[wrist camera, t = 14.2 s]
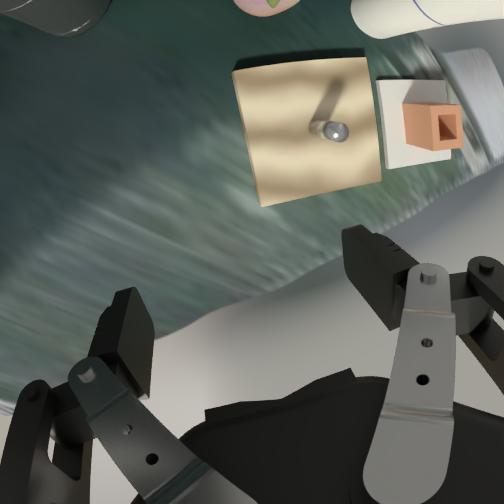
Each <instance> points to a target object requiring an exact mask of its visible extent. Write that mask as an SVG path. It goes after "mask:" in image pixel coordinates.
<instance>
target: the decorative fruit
mask: <svg viewBox="0 0 504 504" xmlns="http://www.w3.org/2000/svg"><path fill="white" fill-rule="evenodd" d="M233 1H234V2H235V3H236V5H237V6H238V7H239V8H241V9H242V10H243V11H245V12H247V13H249V14H251V15H255V16H271V15H275V14H277V13H280V12H282V11H284V10H286V9H288V8H290V7H292V6H293V5H295V4H296V3H297V2H299V1H300V0H233Z"/></svg>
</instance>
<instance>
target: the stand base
mask: <svg viewBox="0 0 504 504" xmlns="http://www.w3.org/2000/svg"><path fill="white" fill-rule="evenodd" d="M232 78H233V82H234V87H235V91H236V96H237V101H238V105H239V110H240V115H241V120H242V124H243V129H244V134H245V139H246V143H247V148H248V153H249V158H250V163H251V168H252V172H253V177H254V182H255V187H256V192H257V197H258V202H259V204H260V205H261V207H265V206H269V205H273V204H277V203H282V202H286V201H290V200H295V199H299V198H304V197H308V196H312V195H317V194H321V193H326V192H331V191H335V190H340V189H345V188H349V187H354V186H359V185H364V184H369V183H374V182H379V181H381V167H380V155H379V144H378V134H377V126H376V117H375V110H374V102H373V96H372V89H371V83H370V77H369V71H368V65H367V60H366V57H360V58H336V59H321V60H309V61H298V62H289V63H281V64H274V65H266V66H260V67H253V68H247V69H242V70H236V71H233V72H232ZM314 119H320V120H327V121H335V122H341V123H344V124H346V125H347V127H348V129H349V136H348V138H347V140H346V141H344V142H341V143H339V142H335V141H332V140H328V139H325V138H321V137H317V136H314V135H312V134H311V133H310V132H309V130H308V125H309V123H310V122H311V121H312V120H314Z"/></svg>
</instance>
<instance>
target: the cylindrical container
mask: <svg viewBox="0 0 504 504" xmlns="http://www.w3.org/2000/svg"><path fill="white" fill-rule="evenodd" d="M351 14H352V17H353V19H354V21H355V23H356V24H357V26H358V27H359V28H360V29H361V30H362V31H363V32H364V33H366V34H367V35H369V36H371V37H374V38H378V39H384V38H389V37H393V36H397V35H401V34H405V33H410V32H414V31H418V30H423V29H429V28H434V27H439V26H445V25H451V24H458V23H465V22H471V21H481V20H490V19H503V18H504V0H352V3H351Z"/></svg>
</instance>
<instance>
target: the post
mask: <svg viewBox="0 0 504 504" xmlns="http://www.w3.org/2000/svg"><path fill="white" fill-rule="evenodd" d="M308 130H309V132H310V133H311V134H312V135H314V136H317V137H321V138H325V139H328V140H332V141H335V142H339V143H341V142H344V141H346V140H347V138H348V136H349V129H348V127H347V125H346V124H344V123H341V122H335V121H327V120H320V119H314V120H312V121H311V122H310V123H309V125H308Z"/></svg>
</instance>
